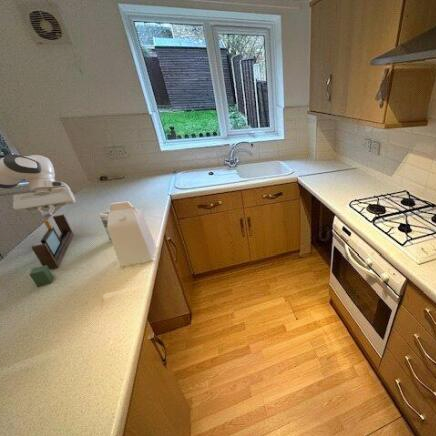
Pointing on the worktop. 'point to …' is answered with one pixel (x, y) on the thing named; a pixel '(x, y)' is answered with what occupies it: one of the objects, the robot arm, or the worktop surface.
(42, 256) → the window frame
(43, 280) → the block
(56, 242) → the window pane
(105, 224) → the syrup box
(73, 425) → the worktop surface
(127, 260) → the milk
